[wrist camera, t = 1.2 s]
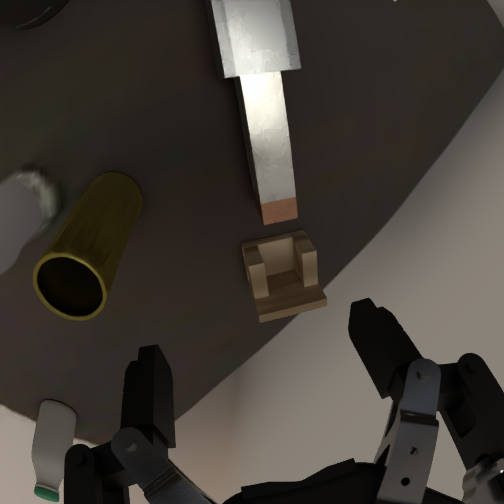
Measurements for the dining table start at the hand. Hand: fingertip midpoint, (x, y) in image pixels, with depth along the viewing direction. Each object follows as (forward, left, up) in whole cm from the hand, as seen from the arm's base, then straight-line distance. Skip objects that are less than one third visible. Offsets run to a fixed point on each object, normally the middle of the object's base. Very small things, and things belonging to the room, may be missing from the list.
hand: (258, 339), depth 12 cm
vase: (-1, -10, -20) cm, 23 cm away
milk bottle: (+34, -40, -21) cm, 57 cm away
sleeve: (-15, +5, -20) cm, 25 cm away
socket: (+10, +5, -20) cm, 23 cm away
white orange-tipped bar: (-8, +5, -19) cm, 21 cm away
